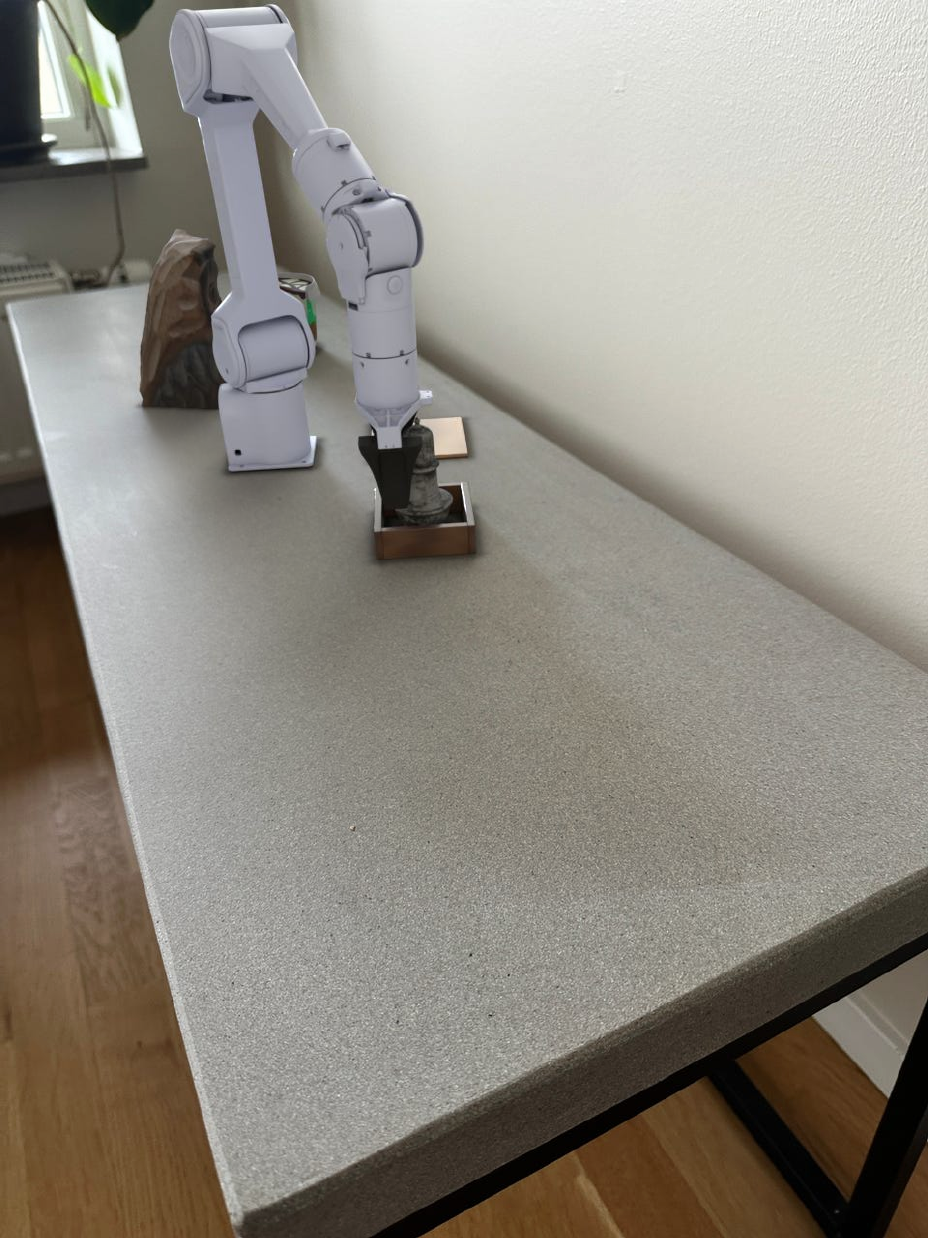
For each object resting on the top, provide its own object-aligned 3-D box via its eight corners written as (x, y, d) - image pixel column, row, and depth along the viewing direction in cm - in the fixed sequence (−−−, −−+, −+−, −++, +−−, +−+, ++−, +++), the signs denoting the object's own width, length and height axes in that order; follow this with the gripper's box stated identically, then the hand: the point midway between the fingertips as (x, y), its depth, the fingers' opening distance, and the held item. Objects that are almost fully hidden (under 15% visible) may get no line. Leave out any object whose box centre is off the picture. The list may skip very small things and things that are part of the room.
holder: (376, 560, 90) (373, 531, 89) (377, 514, 98) (374, 487, 97) (476, 553, 91) (475, 525, 89) (468, 508, 99) (467, 481, 97)
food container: (343, 345, 145) (336, 276, 139) (317, 357, 140) (308, 287, 135) (281, 334, 150) (272, 268, 145) (254, 345, 146) (243, 277, 141)
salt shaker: (447, 549, 92) (441, 430, 85) (388, 545, 93) (377, 428, 86) (460, 520, 96) (454, 406, 90) (403, 517, 97) (394, 403, 91)
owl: (197, 374, 136) (168, 224, 125) (271, 384, 131) (248, 230, 120) (137, 405, 127) (100, 246, 116) (215, 417, 122) (183, 253, 111)
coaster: (371, 462, 109) (370, 459, 109) (372, 425, 118) (371, 422, 118) (467, 456, 109) (467, 453, 109) (461, 419, 118) (461, 416, 118)
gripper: (432, 373, 78) (441, 521, 86) (426, 321, 90) (434, 455, 98) (346, 378, 78) (362, 526, 85) (351, 325, 90) (365, 459, 98)
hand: (396, 489), depth 92 cm, fingers open, 7 cm apart
